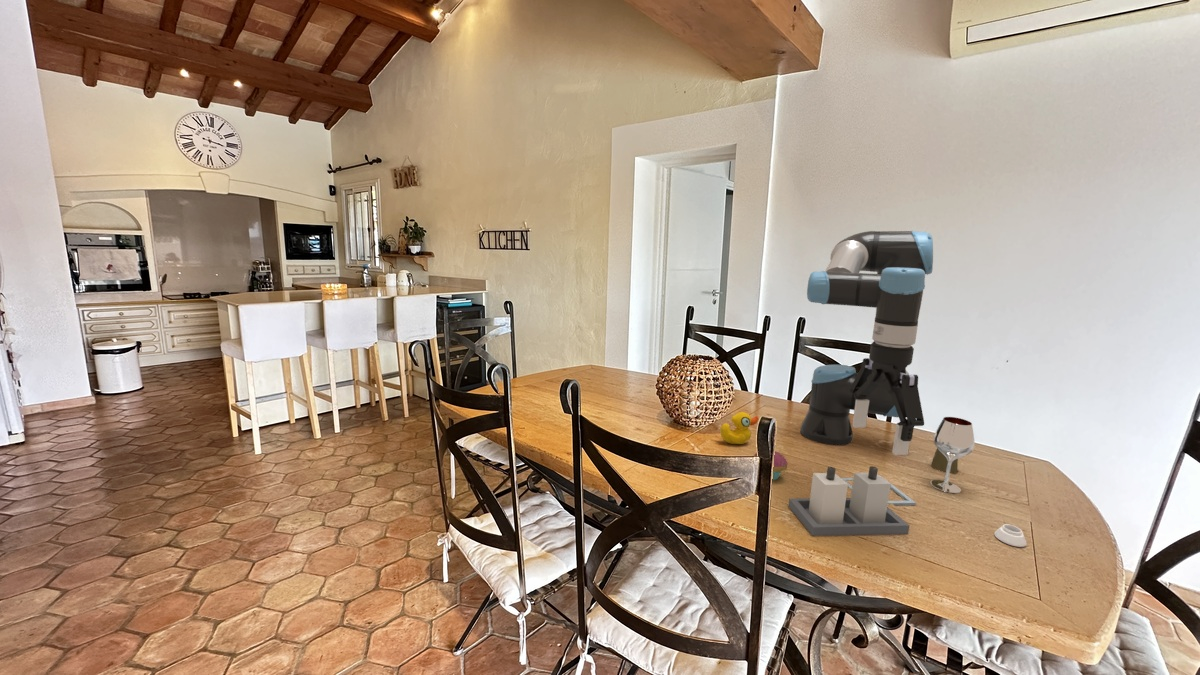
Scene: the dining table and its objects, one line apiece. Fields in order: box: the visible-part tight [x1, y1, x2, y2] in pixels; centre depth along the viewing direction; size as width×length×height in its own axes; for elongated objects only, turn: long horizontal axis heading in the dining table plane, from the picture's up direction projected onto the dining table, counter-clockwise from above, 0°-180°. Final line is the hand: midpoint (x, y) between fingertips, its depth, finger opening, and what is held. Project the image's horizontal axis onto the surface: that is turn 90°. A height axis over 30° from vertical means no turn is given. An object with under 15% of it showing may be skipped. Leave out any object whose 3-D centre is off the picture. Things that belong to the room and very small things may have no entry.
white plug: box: [808, 466, 849, 524], centre depth 101 cm, size 5×5×12 cm
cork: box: [930, 447, 959, 474], centre depth 127 cm, size 6×6×11 cm
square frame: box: [840, 477, 917, 506], centre depth 115 cm, size 12×12×1 cm
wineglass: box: [929, 416, 976, 494], centre depth 116 cm, size 8×8×18 cm
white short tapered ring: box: [994, 523, 1027, 548], centre depth 97 cm, size 5×3×5 cm
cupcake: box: [753, 450, 788, 481], centre depth 120 cm, size 9×8×12 cm
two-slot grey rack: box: [788, 497, 910, 537], centre depth 102 cm, size 11×21×2 cm, turn 93°
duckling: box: [720, 411, 759, 445], centre depth 141 cm, size 11×5×10 cm, turn 93°
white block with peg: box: [849, 465, 892, 524], centre depth 101 cm, size 5×5×12 cm
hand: (877, 439), depth 99 cm, fingers open, 13 cm apart
